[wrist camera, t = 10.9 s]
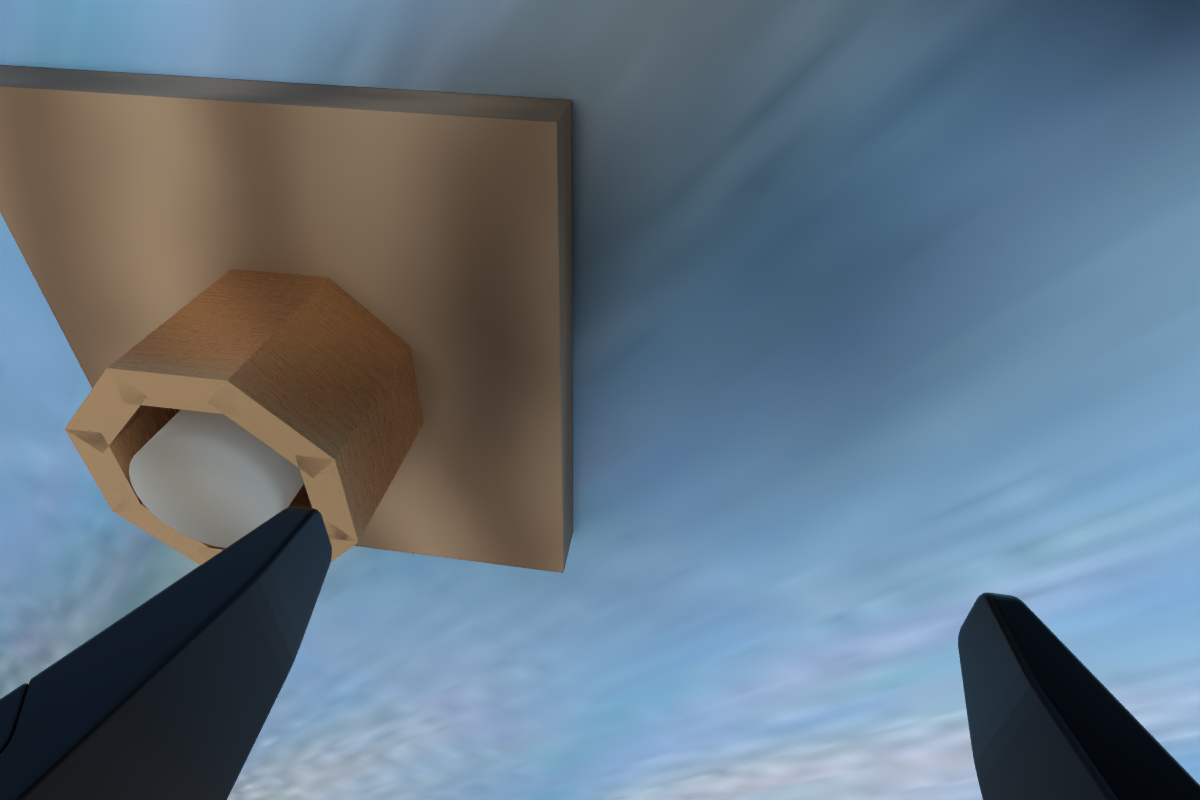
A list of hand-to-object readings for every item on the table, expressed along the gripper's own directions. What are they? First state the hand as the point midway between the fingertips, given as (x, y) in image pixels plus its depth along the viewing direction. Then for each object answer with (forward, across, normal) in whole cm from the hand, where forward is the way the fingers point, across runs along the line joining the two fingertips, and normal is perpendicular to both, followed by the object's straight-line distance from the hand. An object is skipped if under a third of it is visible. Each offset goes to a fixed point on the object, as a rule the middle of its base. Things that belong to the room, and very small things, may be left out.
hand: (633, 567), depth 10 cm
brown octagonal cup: (+10, +11, +5) cm, 16 cm away
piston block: (+12, +11, +5) cm, 17 cm away
